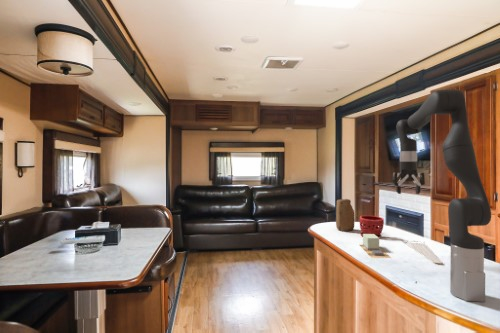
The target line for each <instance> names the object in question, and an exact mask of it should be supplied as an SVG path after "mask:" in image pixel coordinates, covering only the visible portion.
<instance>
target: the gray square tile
mask: <svg viewBox="0 0 500 333" xmlns="http://www.w3.org/2000/svg"><path fill="white" fill-rule="evenodd" d="M372 253H373V254H374V255H375V256H383V252H382V251H381V250H372Z"/></svg>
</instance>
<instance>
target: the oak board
mask: <svg viewBox="0 0 500 333" xmlns="http://www.w3.org/2000/svg"><path fill="white" fill-rule="evenodd" d="M359 247H360V248H361V249H362V250H363V251H364V252H365V253H366V255H368V256H369V257H370V258H372V259H373V258H374V259H375V258H376V259H392V257H391V256H390V255H389V254H387V252H385V251H384V249H382V247H380V246H379V250H381V251H382V252H383V256H375V255H374V254H373V253H372V250H367V249H366V248H365V247H364V246H363V244H359Z"/></svg>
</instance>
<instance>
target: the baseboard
mask: <svg viewBox="0 0 500 333" xmlns="http://www.w3.org/2000/svg"><path fill="white" fill-rule="evenodd" d="M406 241H407V242H408V243H407V242H406V245H407V246H408V247H409V248H411V249H412V250H413V251H415V252H417V253H418V254H419V255H421V256H423V257H424V258H426V259H427V260H428V261H430V262H432V263H433V264H435V265H436V264H438V265H439V266H444V264H443V262H442V261H441V259H439V258H438V256H437V254H435V253H434V252H433V251H432V250H431V249H430V248H429V247H428V245H427V244H426V243H425V241H423V242H420V243H419V242H414V240H412V241H411V242H409V240H406Z"/></svg>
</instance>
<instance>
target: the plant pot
mask: <svg viewBox="0 0 500 333" xmlns="http://www.w3.org/2000/svg"><path fill="white" fill-rule="evenodd" d="M384 222H385V220H384V218H383V217H380V216H377V215H360V216H359V228H360V233H359V235H360V236H361V237H362V238H363V234H375V235H376V236H377V237H378V238H382V236H383V235H382V232H383V229H384Z"/></svg>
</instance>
